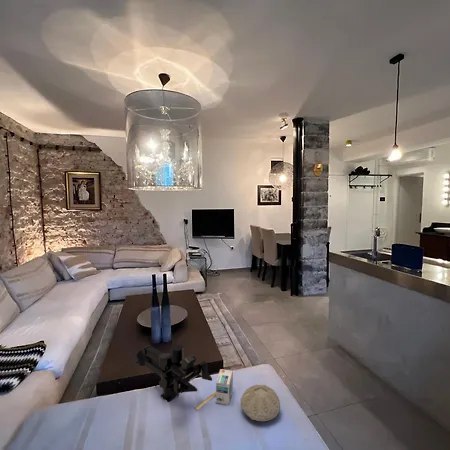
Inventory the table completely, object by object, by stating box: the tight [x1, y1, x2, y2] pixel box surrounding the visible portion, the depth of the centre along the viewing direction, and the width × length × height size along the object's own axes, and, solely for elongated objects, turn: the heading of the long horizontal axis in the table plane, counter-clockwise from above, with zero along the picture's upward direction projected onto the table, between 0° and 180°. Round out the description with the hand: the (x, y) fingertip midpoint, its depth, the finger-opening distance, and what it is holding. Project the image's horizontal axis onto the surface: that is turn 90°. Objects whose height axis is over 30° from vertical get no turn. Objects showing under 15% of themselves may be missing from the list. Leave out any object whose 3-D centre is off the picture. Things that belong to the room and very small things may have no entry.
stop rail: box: [193, 390, 216, 411], centre depth 137 cm, size 2×26×1 cm, turn 139°
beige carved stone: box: [240, 384, 281, 422], centre depth 125 cm, size 18×18×10 cm
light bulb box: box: [215, 368, 234, 406], centre depth 135 cm, size 11×7×11 cm, turn 169°
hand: (204, 384), depth 119 cm, fingers open, 9 cm apart
